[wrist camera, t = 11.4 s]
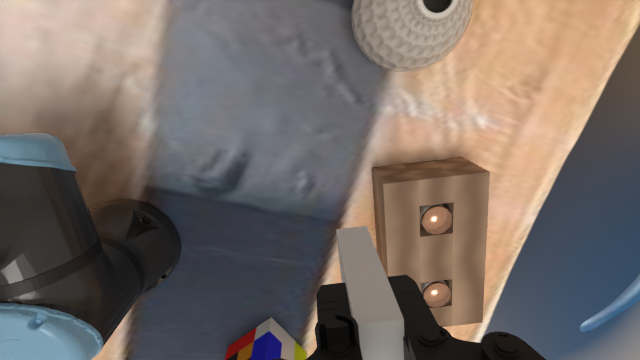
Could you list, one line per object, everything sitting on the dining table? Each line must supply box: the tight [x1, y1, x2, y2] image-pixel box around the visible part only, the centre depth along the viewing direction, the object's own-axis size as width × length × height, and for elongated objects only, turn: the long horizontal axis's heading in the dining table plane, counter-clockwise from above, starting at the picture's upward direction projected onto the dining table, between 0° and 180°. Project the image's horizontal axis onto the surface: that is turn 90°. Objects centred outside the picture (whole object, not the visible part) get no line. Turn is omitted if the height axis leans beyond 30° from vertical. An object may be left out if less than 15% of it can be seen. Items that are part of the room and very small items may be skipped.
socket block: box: [372, 157, 490, 327], centre depth 51 cm, size 14×24×8 cm, turn 6°
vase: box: [351, 0, 474, 72], centre depth 37 cm, size 13×13×17 cm
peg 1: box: [420, 204, 452, 234], centre depth 49 cm, size 4×4×8 cm
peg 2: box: [421, 280, 451, 307], centre depth 52 cm, size 4×4×8 cm
